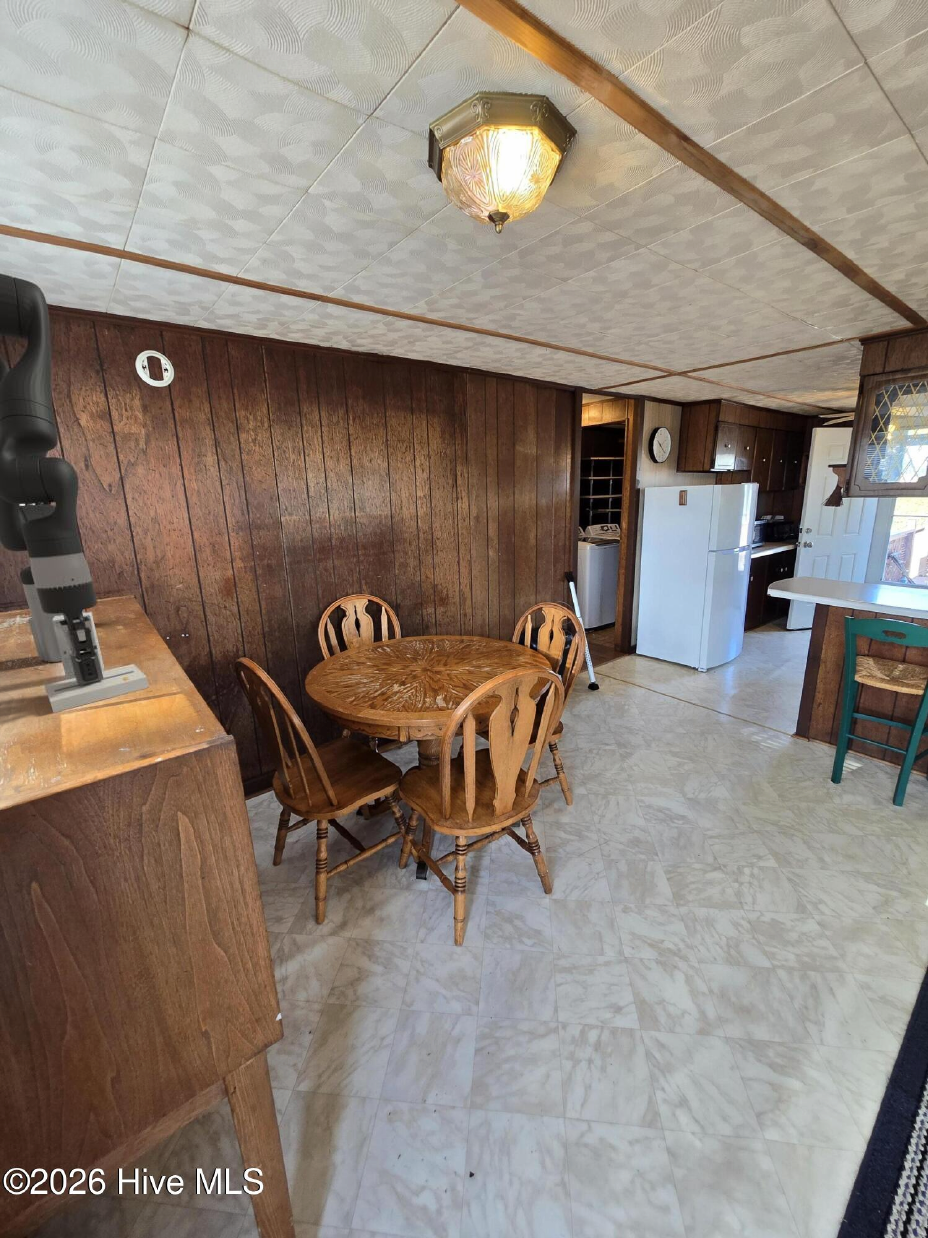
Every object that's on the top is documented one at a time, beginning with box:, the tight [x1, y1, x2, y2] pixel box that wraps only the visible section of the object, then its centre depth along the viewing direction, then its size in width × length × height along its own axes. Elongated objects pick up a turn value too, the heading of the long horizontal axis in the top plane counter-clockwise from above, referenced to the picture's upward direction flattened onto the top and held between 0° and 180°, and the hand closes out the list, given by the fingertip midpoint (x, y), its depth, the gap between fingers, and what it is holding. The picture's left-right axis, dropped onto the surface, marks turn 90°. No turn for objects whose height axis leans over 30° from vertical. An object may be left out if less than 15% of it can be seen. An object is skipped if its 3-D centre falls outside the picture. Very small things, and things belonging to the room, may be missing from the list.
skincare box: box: [52, 611, 105, 680], centre depth 97 cm, size 6×4×12 cm
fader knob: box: [69, 650, 104, 685], centre depth 87 cm, size 4×3×5 cm
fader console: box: [44, 663, 150, 714], centre depth 88 cm, size 14×11×2 cm
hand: (89, 677), depth 87 cm, fingers closed on fader knob, 3 cm apart
